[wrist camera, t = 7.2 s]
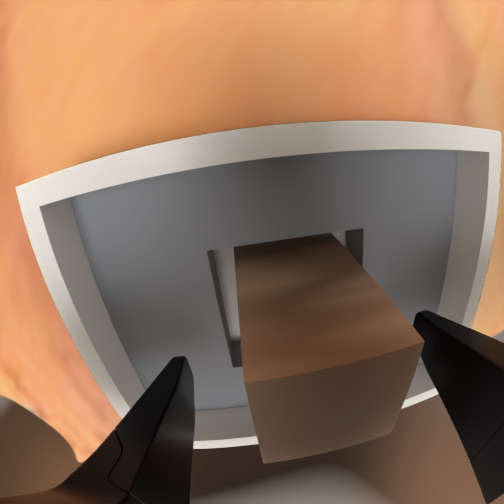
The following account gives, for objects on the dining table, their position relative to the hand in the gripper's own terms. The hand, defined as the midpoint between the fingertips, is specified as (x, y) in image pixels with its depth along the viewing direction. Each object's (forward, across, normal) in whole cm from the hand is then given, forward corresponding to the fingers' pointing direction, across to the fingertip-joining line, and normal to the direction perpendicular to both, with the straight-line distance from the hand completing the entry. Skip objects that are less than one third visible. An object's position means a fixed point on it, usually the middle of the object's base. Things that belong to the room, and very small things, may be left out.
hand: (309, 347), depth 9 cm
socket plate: (+5, 0, 0) cm, 5 cm away
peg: (+4, 0, 0) cm, 4 cm away
